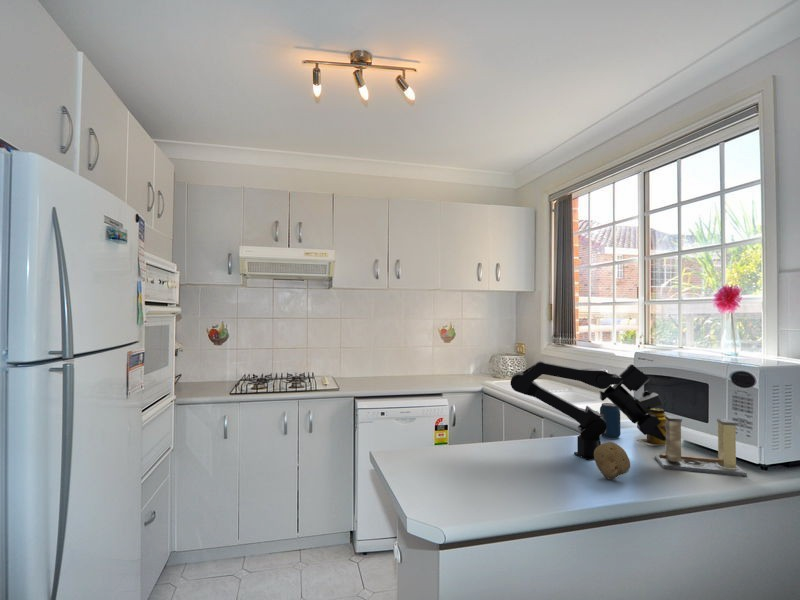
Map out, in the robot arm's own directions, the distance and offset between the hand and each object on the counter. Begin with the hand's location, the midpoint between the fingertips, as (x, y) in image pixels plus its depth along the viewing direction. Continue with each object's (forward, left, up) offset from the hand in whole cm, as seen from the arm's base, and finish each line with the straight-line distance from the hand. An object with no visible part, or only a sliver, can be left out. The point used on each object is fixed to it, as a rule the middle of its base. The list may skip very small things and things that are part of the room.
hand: (664, 439), depth 136 cm
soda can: (+7, +29, -7) cm, 30 cm away
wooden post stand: (+7, -5, -7) cm, 11 cm away
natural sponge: (-26, -6, -7) cm, 27 cm away
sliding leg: (+2, -1, -6) cm, 6 cm away
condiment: (+16, +18, -8) cm, 26 cm away
